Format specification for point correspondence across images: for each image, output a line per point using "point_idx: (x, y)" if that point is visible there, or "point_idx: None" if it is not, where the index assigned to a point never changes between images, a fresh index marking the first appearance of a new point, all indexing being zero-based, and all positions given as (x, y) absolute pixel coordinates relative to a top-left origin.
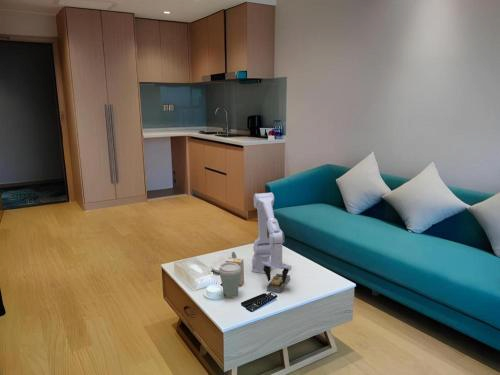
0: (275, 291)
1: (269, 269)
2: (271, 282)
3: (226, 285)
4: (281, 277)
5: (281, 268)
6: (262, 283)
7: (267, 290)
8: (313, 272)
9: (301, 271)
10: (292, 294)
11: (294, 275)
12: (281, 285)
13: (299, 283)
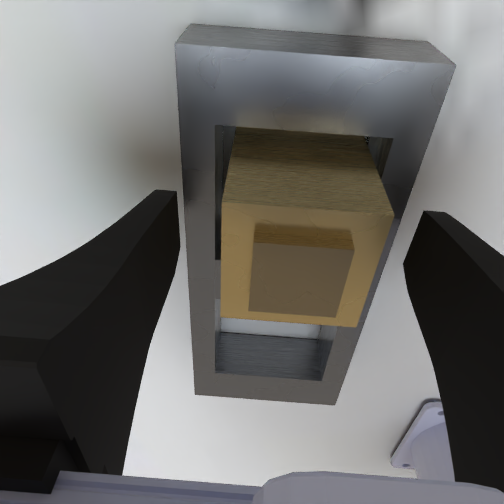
0: (277, 35)
1: (497, 431)
2: (378, 177)
3: None
4: (221, 308)
5: (138, 492)
6: (490, 245)
7: (421, 45)
8: None
9: (165, 451)
10: (13, 51)
11: (191, 409)
12: (204, 175)
13: None
